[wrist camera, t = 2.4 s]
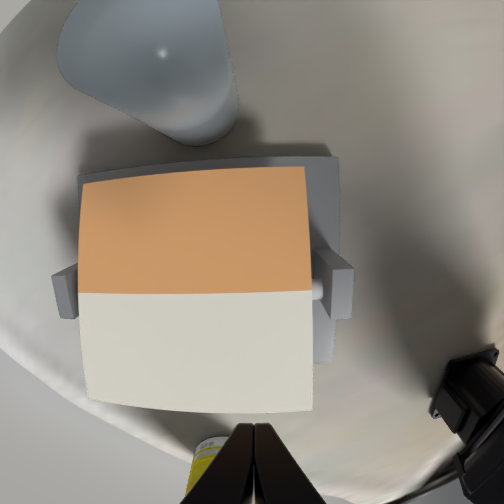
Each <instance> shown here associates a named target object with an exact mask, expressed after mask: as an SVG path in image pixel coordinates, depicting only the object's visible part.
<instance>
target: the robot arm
mask: <svg viewBox="0 0 504 504" xmlns="http://www.w3.org/2000/svg"><path fill="white" fill-rule="evenodd" d="M498 355H499V350H498V349H496V348H493V349H490V350H487V351H484V352H480V353H477V354H473V355H469V356H466V357H462V358H458V359H454V360H451V361H450V362H449V363H448V365H447V368H446V371H445V375H444V378H443V381H442V384H441V387H440V390H439V393H438V396H437V399H436V402H435V405H434V407H433V410H432V413H431V416H432V418H433V419H437V418H440V417H442V418H443V420H444V421H445V423H446V424H447V425H448V427H449V428H450V430H451V431H452V432H453V433H454V434H455V433H457V434H458V436H459V437H460V438H461V440H462V441H463V443H464V444H465V446H464V447H463V448H462V449H461V450H460V451H459V452H457V453H456V454H455V455H454V456H453V460H454V463H455V467H456V470H457V473H458V476H459V480H460V483H461V486H462V490H463V493H464V495H465V496H466V498H467V499H468V500H470V501H471V502H472V503H474V504H504V373H503V372H502V371H501V370H500V369H499V368H498V367H497V366H495V364H496V361H497V358H498ZM253 493H254V497H255V504H326V502H325V501H324V500H323V498H322V497H321V496H320V494H319V493H318V492H317V490H316V489H315V488H314V486H313V485H312V483H311V482H310V481H309V479H308V478H307V477H306V475H305V474H304V472H303V471H302V470H301V468H300V467H299V465H298V464H297V462H296V461H295V460H294V458H293V457H292V455H291V454H290V452H289V451H288V449H287V448H286V446H285V445H284V443H283V442H282V440H281V439H280V437H279V436H278V434H277V433H276V431H275V430H274V428H273V427H272V425H271V424H269V423H256V424H255V425H253V424H252V423H239V424H237V425H236V427H235V428H234V430H233V431H232V433H231V434H230V436H229V437H228V438H227V440H226V441H225V443H224V444H223V446H222V447H221V449H220V450H219V451H218V453H217V454H216V456H215V457H214V458H213V460H212V461H211V463H210V464H209V465H208V467H207V468H206V470H205V471H204V472H203V474H202V475H201V476H200V478H199V479H198V480H197V482H196V483H195V484H194V486H193V487H192V488H191V490H190V491H189V492H188V493H187V495H186V496H185V497H184V499H183V500H182V501H181V502H180V504H252V502H253Z"/></svg>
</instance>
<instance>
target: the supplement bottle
mask: <svg viewBox="0 0 504 504" xmlns="http://www.w3.org/2000/svg"><path fill="white" fill-rule="evenodd" d="M227 438H228V437H213V438H209V439H207V440H204V441H203V442H201V443H200V444H199V445H198V446H197V448H196V450H195V453H194V456H193V461H192V466H191V471H190V475H189V480H188V485H187V489H186V494H185V496H186V495H187V493H188V492H189V491H190V490H191V488H192V487H193V486H194V484H195V483H196V482H197V480H198V479H199V478H200V476H201V475H202V474H203V472H204V471H205V470H206V468H207V467H208V465H209V464H210V463H211V461H212V460H213V458H214V457H215V456H216V454H217V453H218V451H219V450H220V449H221V447H222V446H223V444H224V443H225V441H226V440H227ZM252 504H255V497H254V493H253V502H252Z"/></svg>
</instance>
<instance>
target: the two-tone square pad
mask: <svg viewBox="0 0 504 504" xmlns="http://www.w3.org/2000/svg"><path fill="white" fill-rule="evenodd" d="M322 298H323V283H322V279H321V278H318V279H311V256H310V237H309V221H308V206H307V193H306V181H305V169H304V167H255V168H232V169H215V170H200V171H187V172H176V173H165V174H155V175H146V176H137V177H129V178H121V179H113V180H106V181H99V182H92V183H86V184H83V191H82V201H81V212H80V225H79V244H78V304H79V323H80V337H81V348H82V357H83V366H84V373H85V380H86V387H87V393H88V399H92V400H97V401H102V402H108V403H114V404H120V405H127V406H134V407H142V408H150V409H160V410H171V411H183V412H200V413H279V412H296V411H309V410H312V401H313V313H312V300H319V299H322Z"/></svg>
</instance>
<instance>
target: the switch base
mask: <svg viewBox="0 0 504 504" xmlns="http://www.w3.org/2000/svg"><path fill="white" fill-rule="evenodd" d="M255 167H304V169H305V181H306V193H307V206H308V221H309V237H310V256H311V279H318V278H321V279H322V283H323V298H322V299H319V300H312V313H313V363H325V362H333V352H334V341H335V329H336V320H339V319H351V314H352V301H353V286H354V268H353V267H352V266H351V265H350V264H348V263H347V262H346V261H345V260H344V259H343V258H341V257H340V256H339V233H340V207H339V165H338V157H325V156H281V157H247V158H227V159H211V160H198V161H186V162H175V163H165V164H156V165H147V166H139V167H131V168H124V169H117V170H110V171H103V172H97V173H91V174H85V175H79V176H78V193H79V208H80V212H81V201H82V191H83V184H86V183H92V182H99V181H106V180H113V179H121V178H129V177H137V176H146V175H155V174H165V173H176V172H187V171H200V170H215V169H232V168H255ZM51 277H52V282H53V288H54V292H55V297H56V302H57V306H58V310H59V315H60V318H64V319H75V318H76V317H78V316H79V304H78V263H77V264H74V265H72V266H70V267H68V268H66V269H64V270H62V271H60V272H58V273H56V274H54V275H52V276H51Z"/></svg>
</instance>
